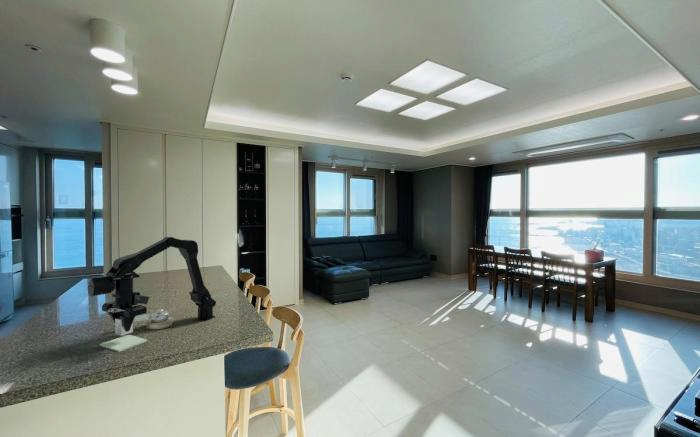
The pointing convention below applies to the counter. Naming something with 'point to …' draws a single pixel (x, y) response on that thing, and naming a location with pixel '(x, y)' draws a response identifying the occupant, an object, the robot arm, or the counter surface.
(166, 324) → the base
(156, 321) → the crank handle
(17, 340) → the counter surface
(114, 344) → the mat
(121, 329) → the grey rectangular block
